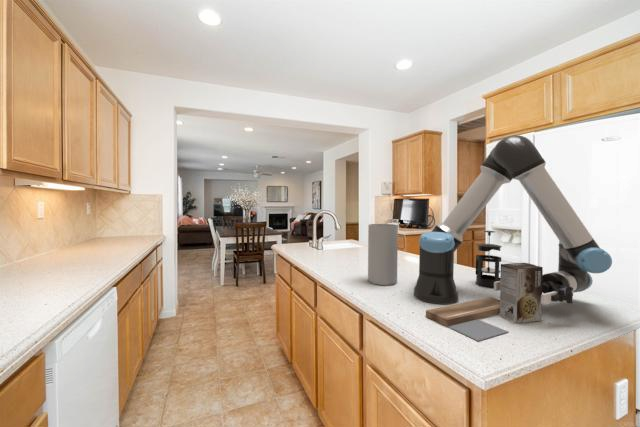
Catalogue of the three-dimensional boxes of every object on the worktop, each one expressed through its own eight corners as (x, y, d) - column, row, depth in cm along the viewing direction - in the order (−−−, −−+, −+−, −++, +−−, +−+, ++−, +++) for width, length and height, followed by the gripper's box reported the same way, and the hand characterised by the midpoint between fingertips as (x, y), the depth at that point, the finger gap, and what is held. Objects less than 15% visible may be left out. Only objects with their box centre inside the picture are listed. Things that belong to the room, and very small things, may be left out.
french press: (508, 288, 117) (509, 231, 117) (488, 289, 115) (489, 232, 115) (486, 280, 129) (487, 229, 128) (467, 281, 127) (468, 229, 126)
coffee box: (522, 312, 91) (524, 262, 90) (542, 321, 84) (544, 266, 84) (498, 315, 89) (499, 263, 88) (516, 323, 83) (518, 268, 82)
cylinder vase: (387, 277, 134) (387, 223, 133) (402, 284, 122) (403, 225, 121) (362, 279, 130) (363, 224, 129) (377, 287, 118) (377, 226, 117)
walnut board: (425, 316, 87) (425, 309, 87) (490, 302, 100) (490, 296, 100) (447, 327, 80) (447, 319, 80) (514, 310, 93) (514, 304, 93)
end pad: (448, 327, 80) (448, 326, 80) (477, 320, 85) (477, 319, 85) (478, 341, 72) (478, 340, 72) (508, 332, 77) (508, 331, 77)
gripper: (605, 307, 84) (566, 320, 75) (516, 285, 107) (478, 292, 98) (606, 282, 84) (567, 291, 75) (517, 265, 106) (478, 270, 97)
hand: (517, 292), depth 86 cm, fingers open, 13 cm apart
